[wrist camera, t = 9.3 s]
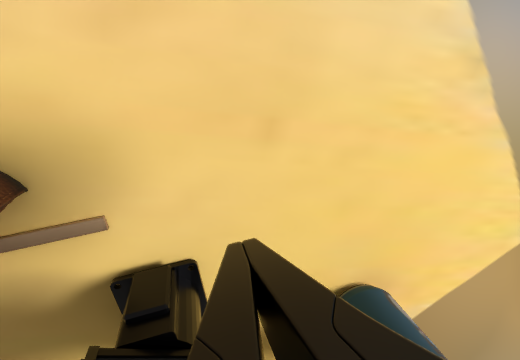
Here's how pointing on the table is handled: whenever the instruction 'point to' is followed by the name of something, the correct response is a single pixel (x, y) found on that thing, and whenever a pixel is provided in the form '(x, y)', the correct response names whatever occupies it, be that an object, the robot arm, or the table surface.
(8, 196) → the sunglasses case
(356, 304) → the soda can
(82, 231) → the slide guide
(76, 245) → the table surface
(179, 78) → the table surface
